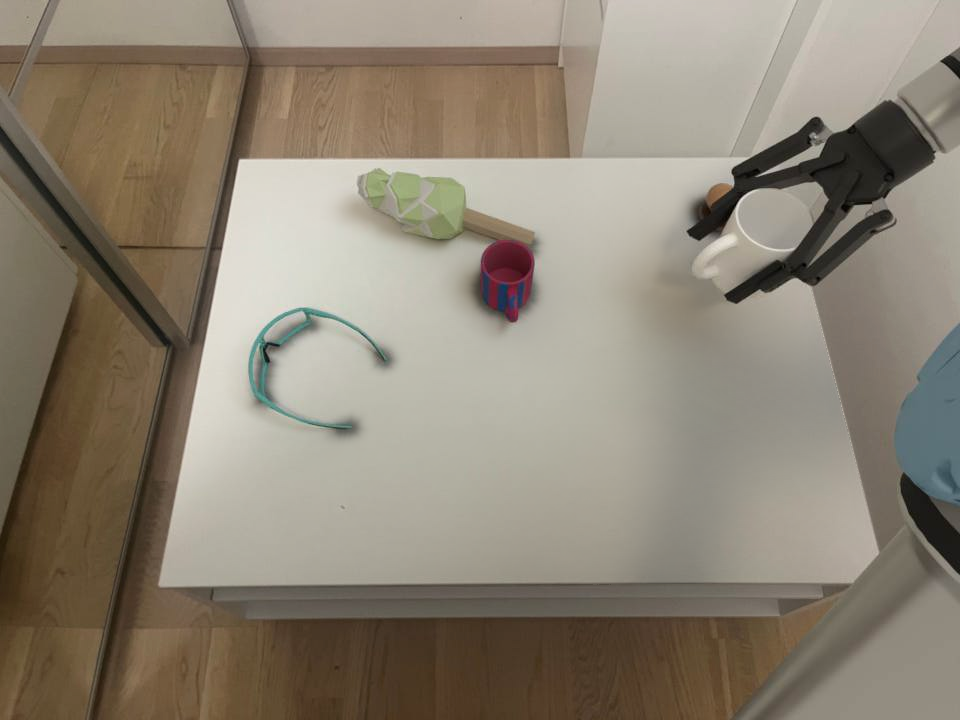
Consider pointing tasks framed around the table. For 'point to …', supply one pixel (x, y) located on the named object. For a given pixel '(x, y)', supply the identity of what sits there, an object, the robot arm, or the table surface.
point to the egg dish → (706, 212)
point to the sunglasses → (265, 344)
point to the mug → (755, 238)
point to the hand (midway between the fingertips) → (711, 267)
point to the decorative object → (432, 206)
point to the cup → (507, 276)
